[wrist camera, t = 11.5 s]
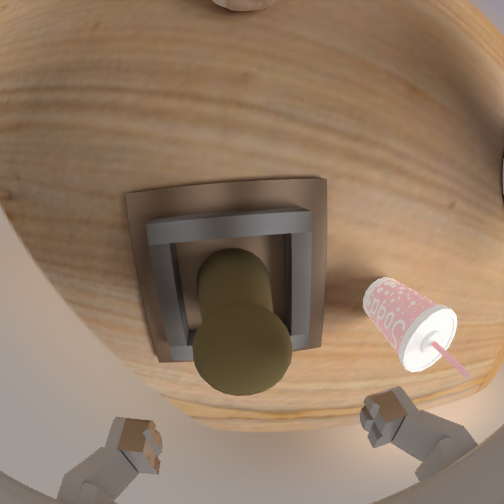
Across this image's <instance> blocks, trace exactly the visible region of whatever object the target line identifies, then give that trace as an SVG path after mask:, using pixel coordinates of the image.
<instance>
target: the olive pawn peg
mask: <svg viewBox="0 0 504 504" xmlns="http://www.w3.org/2000/svg"><path fill="white" fill-rule="evenodd" d="M197 291H198V298H199V305H200V311H201V318H202V323H201V324H200V326H199V327H198V329H197V331H196V334H195V337H194V340H193V346H192V349H193V360H194V363H195V366H196V368H197V370H198V372H199V374H200V376H201V377H202V378H203V379H204V380H205V381H206V382H207V383H208V384H209V385H211V386H212V387H213V388H214V389H216V390H218V391H221V392H223V393H225V394H230V395H236V396H244V395H253V394H257V393H261V392H263V391H265V390H267V389H269V388H271V387H273V386H274V385H275V384H276V383H277V382H278V381H280V380H281V379H282V377H283V376H284V374H285V372H286V370H287V369H288V367H289V365H290V363H291V357H292V343H291V339H290V335H289V332H288V330H287V328H286V326H285V325H284V324H283V322H282V321H281V320H280V318H279V317H278V316H277V315H275V314H274V313H273V306H272V297H271V288H270V279H269V275H268V271H267V268H266V266H265V265H264V263H263V262H262V260H261V259H260V258H259V257H257V256H256V255H255V254H253V253H252V252H250V251H247V250H244V249H241V248H227V249H223V250H220V251H217V252H215V253H214V254H212V255H211V256H209V257H208V258H207V259H206V260H205V261H204V263H203V264H202V265H201V267H200V269H199V272H198V275H197Z"/></svg>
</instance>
